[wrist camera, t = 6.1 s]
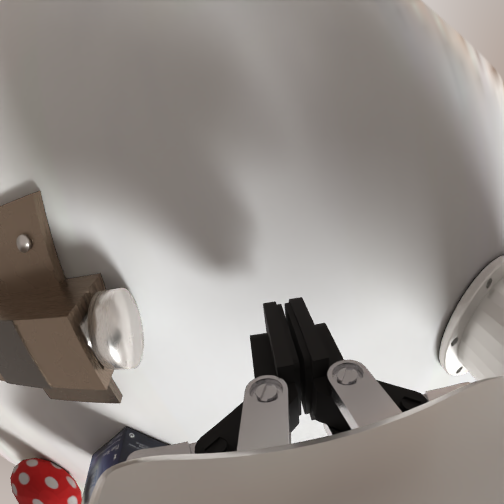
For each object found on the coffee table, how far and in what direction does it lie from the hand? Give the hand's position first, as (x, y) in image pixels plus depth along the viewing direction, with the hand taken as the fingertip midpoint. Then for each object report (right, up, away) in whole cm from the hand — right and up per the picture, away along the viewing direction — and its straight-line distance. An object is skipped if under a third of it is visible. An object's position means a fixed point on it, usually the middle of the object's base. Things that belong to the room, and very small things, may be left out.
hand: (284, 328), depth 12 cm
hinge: (-15, -1, +2) cm, 15 cm away
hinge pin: (-15, -1, +2) cm, 15 cm away
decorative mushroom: (-32, -28, +11) cm, 44 cm away
